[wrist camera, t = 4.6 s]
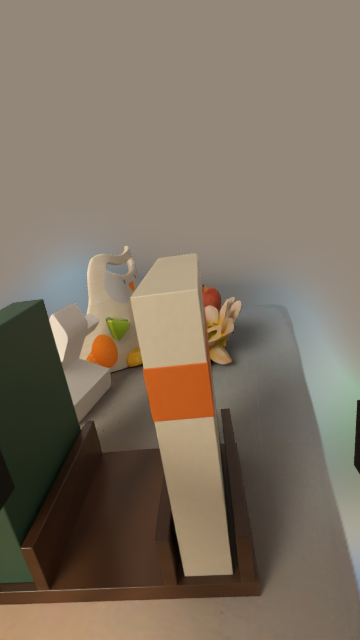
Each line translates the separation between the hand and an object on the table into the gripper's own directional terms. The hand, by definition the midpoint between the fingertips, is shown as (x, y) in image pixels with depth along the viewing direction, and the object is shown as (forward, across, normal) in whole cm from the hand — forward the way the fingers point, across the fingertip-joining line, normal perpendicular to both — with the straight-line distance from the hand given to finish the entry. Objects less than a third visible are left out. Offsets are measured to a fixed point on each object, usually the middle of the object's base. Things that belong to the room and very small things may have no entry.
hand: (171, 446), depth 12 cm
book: (+10, 0, -13) cm, 16 cm away
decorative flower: (+38, 0, -15) cm, 41 cm away
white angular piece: (+25, -17, -15) cm, 34 cm away
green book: (+10, -12, -13) cm, 21 cm away
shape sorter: (+42, -12, -15) cm, 46 cm away
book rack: (+10, -6, -14) cm, 18 cm away
